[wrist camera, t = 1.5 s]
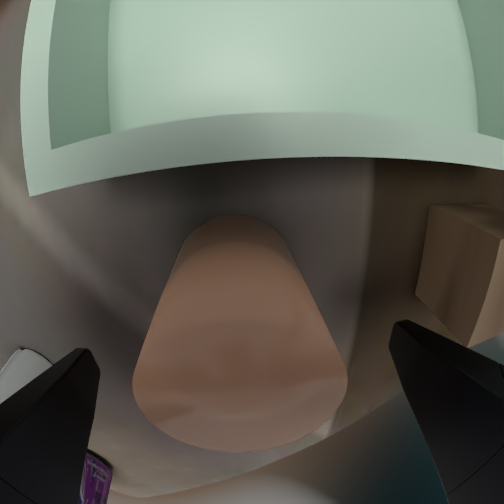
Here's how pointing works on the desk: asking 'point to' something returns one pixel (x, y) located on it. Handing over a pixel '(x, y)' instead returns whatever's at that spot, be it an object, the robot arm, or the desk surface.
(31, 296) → the desk surface
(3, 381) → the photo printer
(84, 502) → the beverage can
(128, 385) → the desk surface
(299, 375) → the terracotta cylinder
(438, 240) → the walnut block
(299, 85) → the tote
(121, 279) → the desk surface
